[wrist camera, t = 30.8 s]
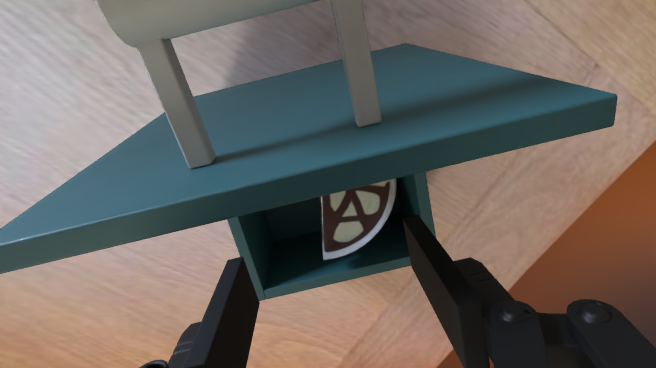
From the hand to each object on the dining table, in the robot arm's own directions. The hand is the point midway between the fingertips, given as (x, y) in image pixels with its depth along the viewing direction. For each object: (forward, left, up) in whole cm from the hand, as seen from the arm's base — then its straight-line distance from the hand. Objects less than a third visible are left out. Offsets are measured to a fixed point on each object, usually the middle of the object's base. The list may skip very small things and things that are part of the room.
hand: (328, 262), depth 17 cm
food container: (+3, 0, -20) cm, 20 cm away
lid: (0, +7, -2) cm, 7 cm away
